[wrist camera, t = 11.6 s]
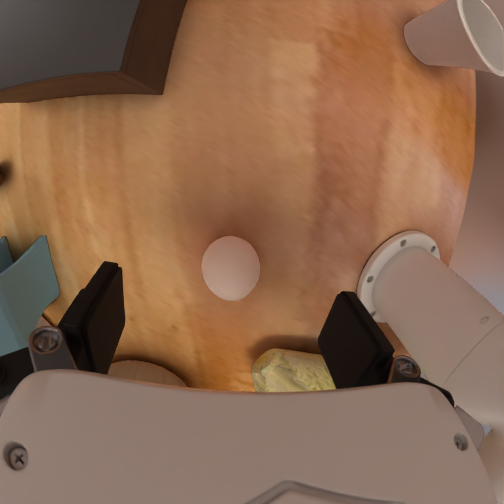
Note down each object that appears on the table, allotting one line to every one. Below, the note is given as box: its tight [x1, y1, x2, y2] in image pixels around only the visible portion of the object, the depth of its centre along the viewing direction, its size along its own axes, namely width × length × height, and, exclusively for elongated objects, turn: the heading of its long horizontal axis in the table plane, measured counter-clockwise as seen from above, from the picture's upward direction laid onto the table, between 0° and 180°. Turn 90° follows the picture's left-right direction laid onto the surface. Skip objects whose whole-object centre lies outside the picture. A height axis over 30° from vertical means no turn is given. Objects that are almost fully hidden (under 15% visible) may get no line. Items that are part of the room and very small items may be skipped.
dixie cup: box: [404, 0, 504, 76], centre depth 13 cm, size 8×8×10 cm
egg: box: [202, 236, 260, 301], centre depth 22 cm, size 5×5×7 cm
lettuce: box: [251, 348, 336, 392], centre depth 31 cm, size 15×24×16 cm
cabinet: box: [0, 0, 187, 103], centre depth 10 cm, size 13×15×11 cm
